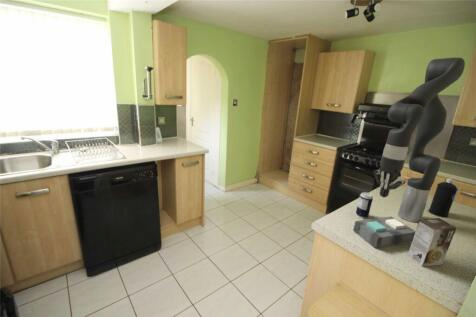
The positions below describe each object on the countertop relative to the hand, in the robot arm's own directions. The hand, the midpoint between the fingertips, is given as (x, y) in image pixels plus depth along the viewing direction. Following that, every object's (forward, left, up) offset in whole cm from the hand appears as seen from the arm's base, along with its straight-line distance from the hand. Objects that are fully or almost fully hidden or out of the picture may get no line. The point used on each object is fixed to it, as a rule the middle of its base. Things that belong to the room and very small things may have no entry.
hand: (383, 196), depth 93 cm
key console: (-5, +1, -19) cm, 20 cm away
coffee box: (-8, +16, -19) cm, 27 cm away
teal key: (+1, +1, -17) cm, 17 cm away
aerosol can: (-54, -9, -19) cm, 58 cm away
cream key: (-10, +1, -18) cm, 20 cm away
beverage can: (-8, -15, -19) cm, 26 cm away
